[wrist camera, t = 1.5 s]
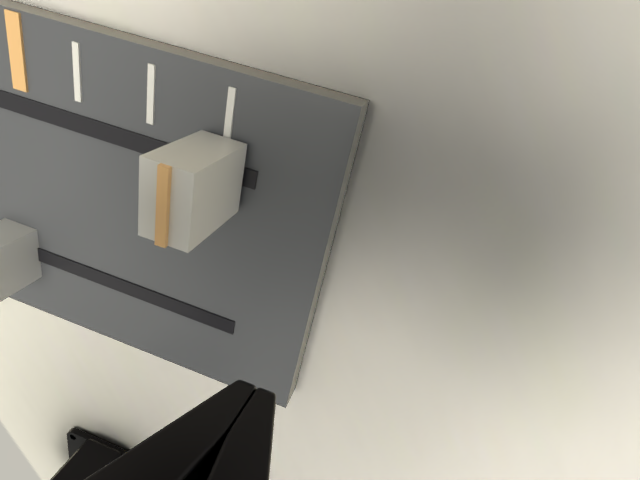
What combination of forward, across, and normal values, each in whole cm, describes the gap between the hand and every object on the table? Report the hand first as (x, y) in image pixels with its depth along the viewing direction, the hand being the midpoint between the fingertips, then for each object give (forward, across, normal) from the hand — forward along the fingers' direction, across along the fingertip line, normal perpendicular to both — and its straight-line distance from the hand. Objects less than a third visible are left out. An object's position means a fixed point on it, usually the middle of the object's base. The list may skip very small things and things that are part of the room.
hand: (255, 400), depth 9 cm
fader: (+10, +6, 0) cm, 12 cm away
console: (+12, +13, +4) cm, 18 cm away
